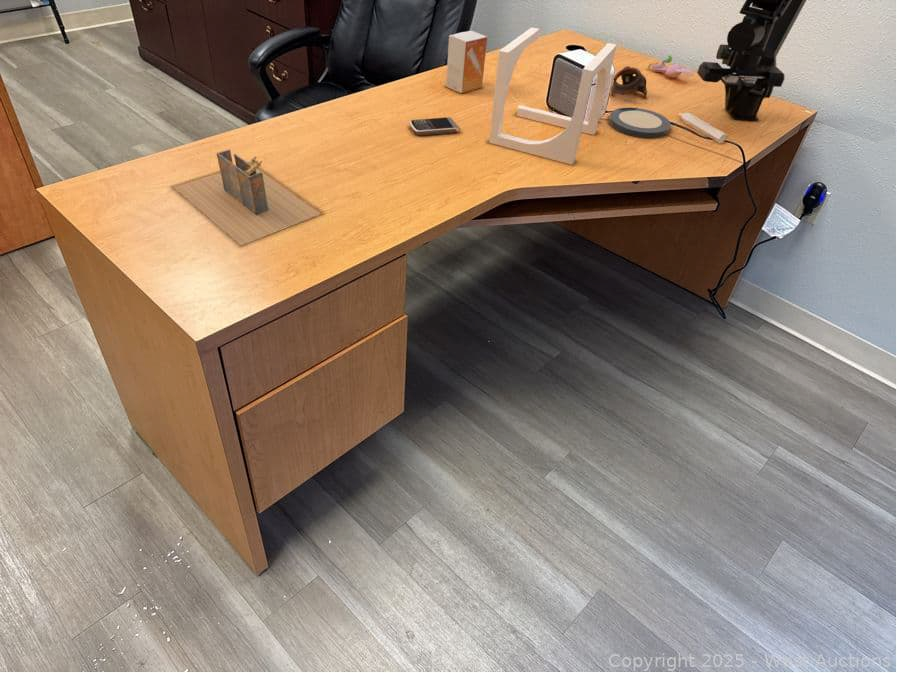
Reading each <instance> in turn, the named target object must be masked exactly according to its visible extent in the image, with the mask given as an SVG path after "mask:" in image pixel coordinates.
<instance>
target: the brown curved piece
mask: <svg viewBox="0 0 897 673" xmlns="http://www.w3.org/2000/svg"><path fill="white" fill-rule="evenodd" d="M619 78H621V81H622V84H621V83H619V82H617V81H618V79H619ZM638 93H640V94H641V93H642V95H643V98H644V99H647V94H648V89H647V78H646V76H645V75H644V74H643V73H642V72H641V70H640V69H639V68H637V67H631V66H628V65H627V66H625V67H623V69H621V70H619V71H618V72H616V74H615V75H614V76H613V81H612V85H611V87H610V94H611V96H614V95H619V96H624V95H629V94H636V95H637V94H638Z"/></svg>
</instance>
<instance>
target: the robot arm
mask: <svg viewBox="0 0 897 673" xmlns="http://www.w3.org/2000/svg"><path fill="white" fill-rule="evenodd" d="M806 2H807V0H745V1H744V3H743V4H742V7H741V8H740V10H739V14H740V15H744V16H743V18H742V20H741V22H738V23H736V24H734V25H733V26H732V27H731V28H730V30H729V31H728V33H727V36H726V43H727V44H724V43H723V44H719V46H718V49H717V51H716V55H715V58H716V60H721V64H720V63H718V62H712V61H703V62H702V63H700V65H699V66H698V69H697V72H696V74H697V75H698V76H699V77H700V79H701V80H702V81H703V82H705V83H718V82H719V81H721V83H722V84H723V85H724V93H725V96H724V109H725V111H726V112H727V114H729V115H730V116H731V118H732V119H733V120H740V121H741V120H742V121H759V118H758V116H757V115H758V113H759V110H760V108H761V106H762V103H763V101H764V99H770V98H771V96H772V94H773V91H774V87H775V88H781V87H782V86H783V84H784V82H785V77H786V75H785V73H784V72H783V71H782V70H781V69H780V68H779V67H777V56H778V53H780V50H781V48H782V47H783V45H784V43H785V41H786V39H787V37H788V35H789V34H790V32H791V30H792V28H793V26H794V24H795V23H796V20H797V19H798V17H799V15H800V13H801V12H802V10H803V8H804V6H805V4H806ZM721 65H725V66H727V68H726V67H722V66H721ZM728 67H729V68H728Z"/></svg>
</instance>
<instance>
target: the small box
mask: <svg viewBox="0 0 897 673" xmlns="http://www.w3.org/2000/svg"><path fill="white" fill-rule="evenodd" d="M487 43H488V36H487V35H484V34H481V33H479V32H477V31H474V30H472V29H471V30H467V31H461V32H457V33H454V34H453V33H452V34H449V35H448V46H447V47H448V48H447V64H446V79H445V87H446V88H448V89H450V90H452V91H455V92H457V93H460V94H464V93H467V92H471V91H474V90H477V89H482V88H483V82H484V81H483V80H484V71H485V62H486V54H487Z"/></svg>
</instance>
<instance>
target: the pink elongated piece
mask: <svg viewBox="0 0 897 673" xmlns="http://www.w3.org/2000/svg"><path fill="white" fill-rule="evenodd" d="M667 57H668V58H664V60H662V61H660V62H654V63H653V62H652V63H650V62H649V64H648V66H647V69H650V68H651V70H652V72H653V73H662V74H663V73H664V74H665V76H666V77H668V78H671V79H673V78H678V77H679V76H680V75H681V74H684V75H685V76H687V77H691V76H692V77H693V76H694V72H693V70H692V69H690V68H687V67H683V66H681V64H678V63H673V64H670V65H669V66H668V67H667V66H666V64H669V63H671V62H672V60H673V56H672V55H671V54H668V55H667Z"/></svg>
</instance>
